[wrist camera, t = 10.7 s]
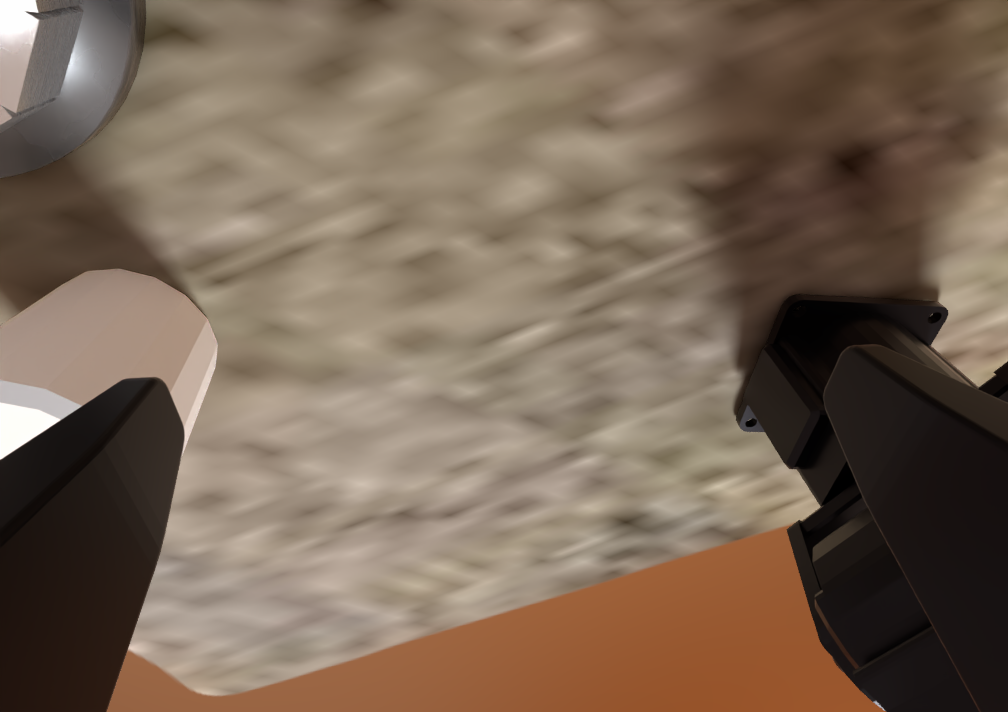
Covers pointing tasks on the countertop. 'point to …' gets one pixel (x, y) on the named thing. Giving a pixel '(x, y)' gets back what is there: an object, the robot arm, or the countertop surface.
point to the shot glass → (100, 350)
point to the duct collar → (63, 74)
